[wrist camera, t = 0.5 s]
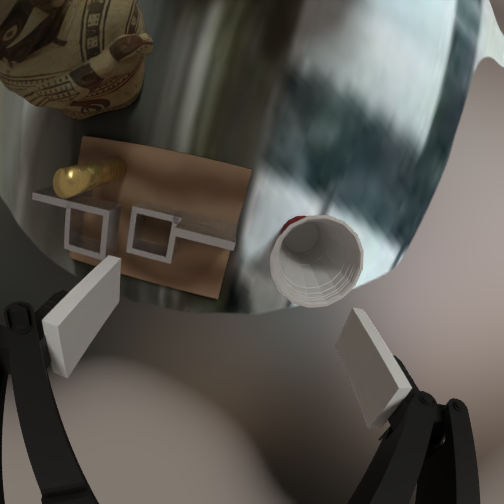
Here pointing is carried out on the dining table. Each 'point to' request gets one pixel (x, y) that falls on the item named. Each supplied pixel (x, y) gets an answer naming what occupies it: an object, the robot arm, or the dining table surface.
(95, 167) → the pin
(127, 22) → the ceramic vessel
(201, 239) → the fixed leaf
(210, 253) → the board
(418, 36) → the dining table surface
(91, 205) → the flanged square frame
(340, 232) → the plastic cup
